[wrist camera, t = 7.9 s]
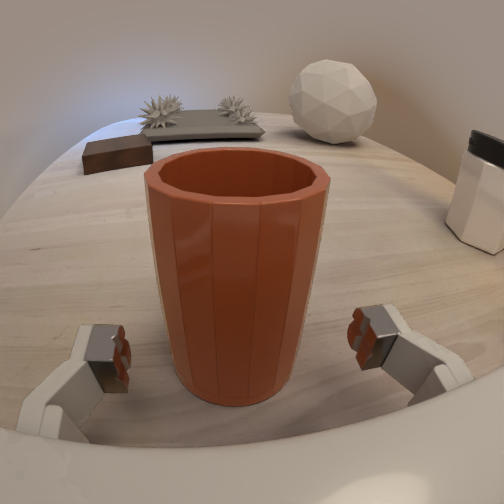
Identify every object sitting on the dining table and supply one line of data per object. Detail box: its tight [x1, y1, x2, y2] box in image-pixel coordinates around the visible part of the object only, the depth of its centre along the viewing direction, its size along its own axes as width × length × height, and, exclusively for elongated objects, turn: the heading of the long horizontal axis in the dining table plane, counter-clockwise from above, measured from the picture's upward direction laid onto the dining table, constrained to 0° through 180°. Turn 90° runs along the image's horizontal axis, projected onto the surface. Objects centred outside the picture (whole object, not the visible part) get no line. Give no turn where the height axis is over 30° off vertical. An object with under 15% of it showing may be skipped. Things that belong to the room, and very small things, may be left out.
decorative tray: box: [139, 96, 265, 142], centre depth 69 cm, size 35×26×10 cm
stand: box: [82, 134, 153, 175], centre depth 46 cm, size 11×11×3 cm
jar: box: [446, 130, 504, 255], centre depth 27 cm, size 9×8×12 cm
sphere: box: [289, 60, 377, 144], centre depth 61 cm, size 19×20×20 cm
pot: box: [144, 147, 331, 407], centre depth 13 cm, size 6×6×10 cm
